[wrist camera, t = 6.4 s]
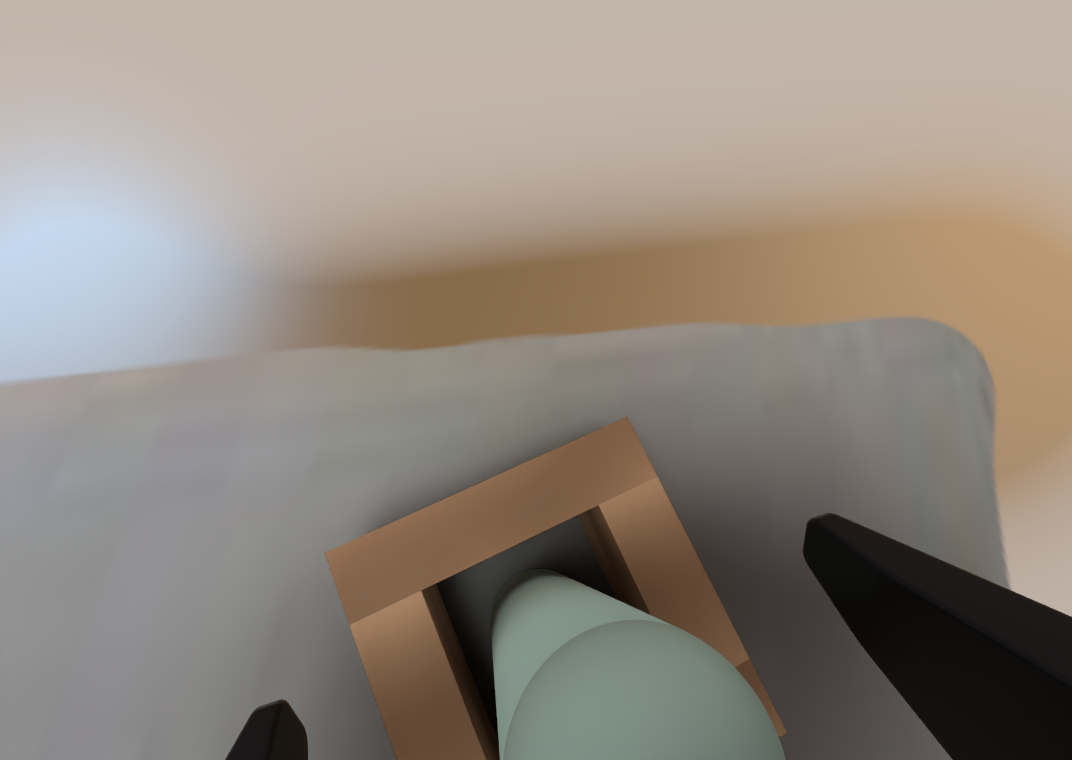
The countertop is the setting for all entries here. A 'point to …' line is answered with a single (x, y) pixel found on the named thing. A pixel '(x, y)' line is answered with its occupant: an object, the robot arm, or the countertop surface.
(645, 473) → the wooden square socket block
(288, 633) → the countertop surface
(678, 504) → the countertop surface
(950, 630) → the robot arm
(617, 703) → the dowel
